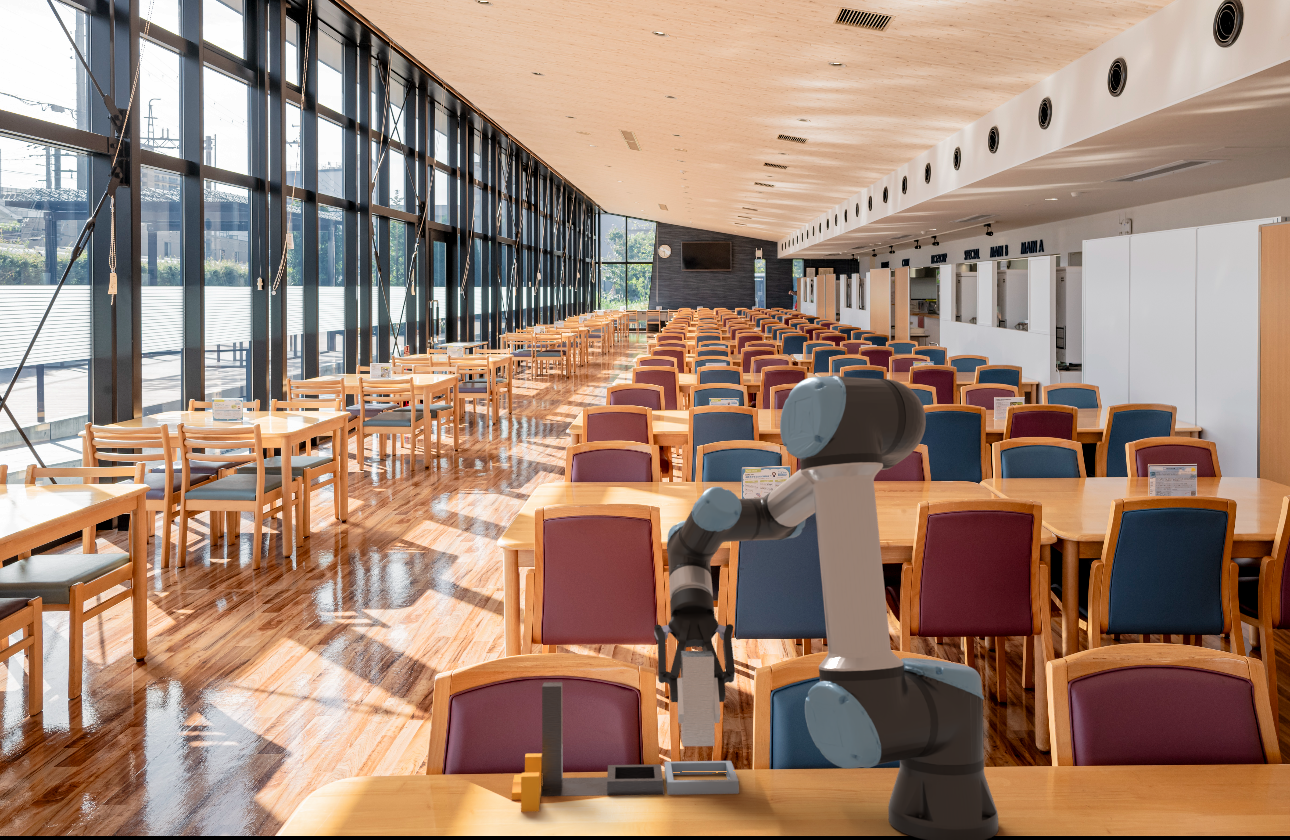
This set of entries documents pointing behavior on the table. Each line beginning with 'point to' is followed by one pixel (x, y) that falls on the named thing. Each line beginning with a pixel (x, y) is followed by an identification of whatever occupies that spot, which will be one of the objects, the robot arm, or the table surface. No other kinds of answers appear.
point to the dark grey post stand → (615, 783)
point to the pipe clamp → (529, 783)
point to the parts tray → (701, 785)
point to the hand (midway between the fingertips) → (699, 718)
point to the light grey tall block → (698, 698)
